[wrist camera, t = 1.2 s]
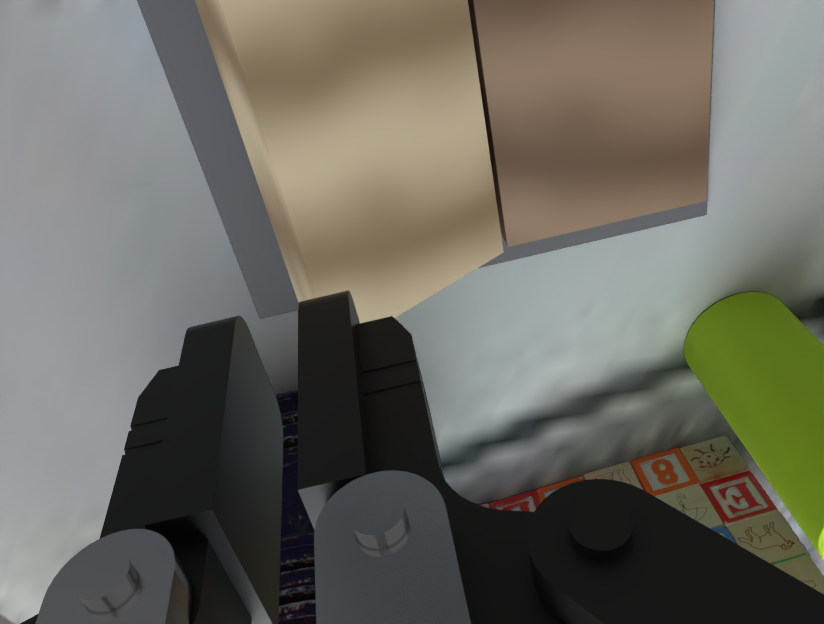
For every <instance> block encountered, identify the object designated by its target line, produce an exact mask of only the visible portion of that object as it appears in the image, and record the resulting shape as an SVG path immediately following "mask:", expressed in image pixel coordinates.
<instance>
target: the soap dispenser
mask: <svg viewBox="0 0 824 624" xmlns="http://www.w3.org/2000/svg"><path fill="white" fill-rule="evenodd" d="M684 355H685V359H686V362H687V364H688V365H689V367H690V368H691V370H692V371H693V373H694V374H695V375H696V377H697V378H698V380H699V381H700V383H701V384H702V386H703V387H704V388H705V390H706V391H707V393H708V394H709V396H710V397H711V399H712V400H713V401H714V403H715V404H716V406H717V407H718V409H719V410H720V412H721V413H722V414H723V416H724V417H725V419H726V420H727V422H728V423H729V425H730V426H731V427H732V429H733V430H734V432H735V433H736V435H737V436H738V438H739V439H740V441H741V442H742V443H743V445H744V446H745V448H746V449H747V451H748V452H749V454H750V455H751V456H752V458H753V459H754V461H755V462H756V464H757V465H758V467H759V468H760V469H761V471H762V472H763V474H764V475H765V477H766V478H767V480H768V481H769V482H770V484H771V485H772V487H773V488H774V490H775V491H776V493H777V494H778V495H779V497H780V498H781V500H782V501H783V503H784V504H785V506H786V507H787V508H788V510H789V511H790V513H791V514H792V516H793V517H794V519H795V520H796V521H797V523H798V524H799V526H800V527H801V529H802V530H803V532H804V533H805V534H806V536H807V537H808V539H809V540H810V542H811V543H812V545H813V546H814V547H815V549H816V550H817V552H818V553H819V555H820V556H821V558H822V559H823V560H824V345H823V344H822V343H821V342H820V341H819V340H818V339H817V338H816V337H815V336H814V335H813V334H812V333H811V332H810V331H809V330H808V329H807V328H806V327H805V326H804V325H803V324H802V323H801V322H800V321H799V319H798V318H797V317H796V316H795V315H794V314H793V313H792V312H791V311H790V310H789V309H788V308H787V307H786V306H785V305H784V304H783V303H782V302H781V301H780V300H779V299H777V298H776V297H774V296H772V295H769V294H766V293H762V292H745V293H740V294H736V295H732V296H730V297H727V298H725V299H723V300H721V301H719V302H717V303H715V304H714V305H712V306H711V307H710V308H708V309H707V310H706V311H705V312H703V313H702V314H701V315H700V316H699V317H698V319H697V320H696V321H695V322H694V324H693V325H692V327H691V328H690V330H689V332H688V334H687V337H686V340H685V344H684Z"/></svg>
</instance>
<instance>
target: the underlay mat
mask: <svg viewBox="0 0 824 624" xmlns="http://www.w3.org/2000/svg"><path fill="white" fill-rule="evenodd" d="M137 1H138V4H139V7H140V9H141V12H142V14H143V17H144V19H145V22H146V25H147V27H148V30H149V32H150V35H151V38H152V40H153V43H154V45H155V48H156V51H157V53H158V56H159V58H160V61H161V64H162V66H163V69H164V71H165V74H166V76H167V79H168V82H169V84H170V87H171V89H172V92H173V95H174V97H175V100H176V102H177V105H178V108H179V110H180V113H181V115H182V118H183V121H184V123H185V126H186V128H187V131H188V134H189V136H190V139H191V141H192V144H193V146H194V149H195V152H196V154H197V157H198V159H199V162H200V165H201V167H202V170H203V172H204V175H205V178H206V180H207V183H208V185H209V188H210V191H211V193H212V196H213V198H214V201H215V203H216V206H217V209H218V211H219V214H220V216H221V219H222V222H223V224H224V227H225V229H226V232H227V235H228V237H229V240H230V242H231V245H232V248H233V250H234V253H235V255H236V258H237V261H238V263H239V266H240V268H241V271H242V273H243V276H244V279H245V281H246V284H247V286H248V289H249V292H250V294H251V297H252V299H253V302H254V305H255V307H256V310H257V312H258V315H259V318H260V319H261V318H265V317H270V316H274V315H278V314H283V313H287V312H291V311H296V310H298V305H299V302H298V300H297V297H296V294H295V291H294V288H293V285H292V282H291V279H290V276H289V273H288V270H287V267H286V265H285V262H284V259H283V256H282V253H281V250H280V247H279V244H278V241H277V238H276V235H275V233H274V230H273V227H272V224H271V221H270V218H269V215H268V212H267V209H266V206H265V203H264V200H263V198H262V195H261V192H260V189H259V186H258V183H257V180H256V177H255V174H254V171H253V168H252V166H251V163H250V160H249V157H248V154H247V151H246V148H245V145H244V142H243V139H242V136H241V134H240V131H239V128H238V125H237V122H236V119H235V116H234V113H233V110H232V107H231V104H230V101H229V99H228V96H227V93H226V90H225V87H224V84H223V81H222V78H221V75H220V72H219V69H218V67H217V64H216V61H215V58H214V55H213V52H212V49H211V46H210V43H209V40H208V37H207V35H206V32H205V29H204V26H203V23H202V20H201V17H200V14H199V11H198V8H197V5H196V2H195V0H137ZM714 13H715V0H714V11H713V37H712V63H711V89H710V115H711V90H712V64H713V39H714ZM710 115H709V140H710ZM708 166H709V141H708ZM707 191H708V167H707ZM704 215H707V193H706V201H704V202H699V203H695V204H691V205H686V206H682V207H678V208H674V209H669V210H665V211H661V212H656V213H652V214H648V215H643V216H639V217H635V218H631V219H626V220H622V221H618V222H613V223H609V224H605V225H600V226H596V227H592V228H588V229H583V230H579V231H575V232H570V233H566V234H562V235H558V236H553V237H549V238H545V239H540V240H536V241H532V242H527V243H523V244H519V245H515V246H510V247H507V245H506V243H505V240H504V238H503V236H502V234H501V237H502V244H503V251H504V252H503V253H502V254H500V255H498V256H497V257H495V258H493V259H492V260H490V261H489V262H487V263H485V264H484V265H482V266H480V267H485V266H489V265H493V264H498V263H502V262H506V261H510V260H515V259H519V258H523V257H528V256H532V255H536V254H540V253H545V252H549V251H553V250H558V249H562V248H566V247H571V246H575V245H579V244H583V243H588V242H592V241H596V240H601V239H605V238H609V237H614V236H618V235H622V234H626V233H631V232H635V231H639V230H644V229H648V228H652V227H657V226H661V225H665V224H669V223H674V222H678V221H682V220H687V219H691V218H695V217H700V216H704ZM480 267H479V268H480Z"/></svg>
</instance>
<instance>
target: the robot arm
mask: <svg viewBox="0 0 824 624" xmlns="http://www.w3.org/2000/svg"><path fill="white" fill-rule="evenodd" d="M131 429H132V431H129V433H128V437H127V441H126V444H125V448H124V450H125V455H122V459H121V463H120V466H119V470H118V474H117V477H116V481H115V485H114V488H113V492H112V496H111V499H110V503H109V507H108V510H107V514H106V518H105V521H104V525H103V529H102V532H101V536H100V539H99V540H97V541H95V542H93V543H91V544H90V545H88V546H87V547H85V548H84V549H82V550H81V551H80V552H78V553H77V554H76V555H75V556H74V557H73V558H71V559H70V560H69V561H68V562H67V563H66V564H65V565H64V567H63V568H62V569H61V570H60V571H59V572H58V574H57V575H56V576H55V578H54V579H53V581H52V583H51V584H50V586H49V588H48V589H47V592H46V594H45V597H44V599H43V602H42V605H41V608H40V611H39V614H37V615H35V616H34V617H32V618H30V619H28V620H26V621H24V622H22V623H20V624H278V622H279V584H280V546H281V508H282V471H283V426H282V419H281V414H280V409H279V406H278V402H277V399H276V396H275V393H274V391H273V388H272V386H271V383H270V381H269V378H268V376H267V373H266V371H265V368H264V366H263V363H262V361H261V358H260V356H259V353H258V351H257V348H256V346H255V343H254V341H253V338H252V336H251V333H250V331H249V328H248V326H247V324H246V322H245V321H244V319H243V318H242V317H241V316H236V317H232V318H228V319H223V320H219V321H215V322H210V323H206V324H202V325H198V326H193V327H189V328H188V329H187V331H186V334H185V339H184V343H183V348H182V353H181V357H180V362H179V366H175V367H171V368H167V369H162V370H159V371H158V372H157V374H156V375H155V376H154V378H153V379H152V380H151V382H150V383H149V384H148V386H147V387H146V388H145V389H144V391H143V392H142V393H141V395H140V396H139V397H138V400H137V404H136V408H135V411H134V415H133V419H132V422H131ZM298 492H299V494H300V497H301V499H302V501H303V504H304V506H305V509H306V511H307V513H308V516H309V518H310V521H311V523H312V525H313V528H314V530H315V532H314V554H315V592H316V624H824V594H822V593H820V592H819V591H817V590H815V589H814V588H812V587H810V586H808V585H807V584H805V583H803V582H801V581H800V580H798V579H796V578H795V577H793V576H791V575H789V574H788V573H786V572H784V571H782V570H781V569H779V568H777V567H776V566H774V565H772V564H770V563H769V562H767V561H765V560H763V559H762V558H760V557H758V556H757V555H755V554H753V553H751V552H750V551H748V550H746V549H744V548H743V547H741V546H739V545H738V544H736V543H734V542H732V541H731V540H729V539H727V538H725V537H724V536H722V535H720V534H719V533H717V532H715V531H713V530H712V529H710V528H708V527H707V526H705V525H703V524H701V523H700V522H698V521H696V520H694V519H693V518H691V517H689V516H688V515H686V514H684V513H682V512H681V511H679V510H677V509H675V508H674V507H672V506H670V505H669V504H667V503H665V502H663V501H662V500H660V499H658V498H656V497H655V496H653V495H651V494H650V493H648V492H646V491H644V490H642V489H640V488H638V487H636V486H634V485H631V484H628V483H625V482H621V481H616V480H610V479H589V480H582V481H578V482H573V483H571V484H568V485H565V486H563V487H561V488H559V489H557V490H556V491H554V492H552V493H551V494H550V495H548V496H547V497H546V498H545V499H544V500H543V501H542V502H541V503H540V504H539V505H538V506H537V508H536V510H535V511H534V512H529V511H511V510H499V509H491V508H487V507H483V506H480V505H477V504H475V503H472V502H470V501H468V500H466V499H465V498H463V497H461V496H460V495H459V494H457V493H456V492H455V491H454V490H453V489H452V488H451V487H450V486H449V485H448V484H447V482H446V481H445V479H444V474H443V469H442V465H441V460H440V455H439V451H438V446H437V442H436V437H435V432H434V427H433V423H432V418H431V413H430V409H429V405H428V401H427V397H426V393H425V389H424V385H423V381H422V376H421V372H420V368H419V364H418V360H417V356H416V352H415V348H414V344H413V340H412V336H411V334H410V333H409V332H408V331H407V330H406V329H405V328H404V327H403V326H402V325H401V324H400V323H399V322H398V321H397V320H396V319H395V318H394V317H393V316H390V317H386V318H382V319H377V320H373V321H369V322H364V323H360V322H359V318H358V315H357V311H356V308H355V304H354V301H353V298H352V295H351V293H350V291H349V290H348V291H343V292H339V293H335V294H331V295H326V296H322V297H318V298H313V299H309V300H305V301H301V302H299V305H298Z"/></svg>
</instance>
